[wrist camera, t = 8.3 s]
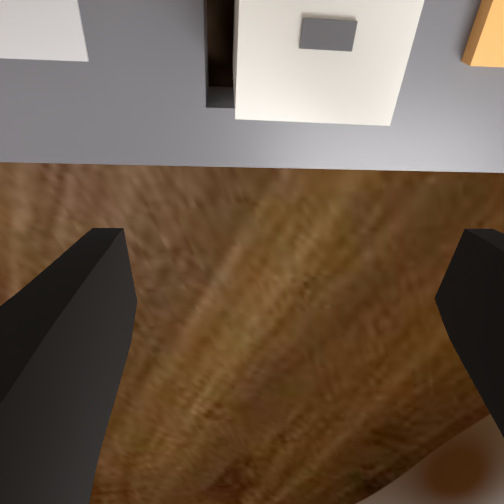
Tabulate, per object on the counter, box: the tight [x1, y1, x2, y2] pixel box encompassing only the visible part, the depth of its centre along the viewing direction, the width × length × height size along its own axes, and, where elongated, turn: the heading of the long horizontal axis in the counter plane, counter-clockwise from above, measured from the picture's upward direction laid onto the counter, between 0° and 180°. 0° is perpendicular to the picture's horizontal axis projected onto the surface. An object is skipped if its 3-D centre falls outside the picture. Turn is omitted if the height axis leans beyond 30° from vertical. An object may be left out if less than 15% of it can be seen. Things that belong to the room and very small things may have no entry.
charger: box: [232, 0, 424, 126], centre depth 11 cm, size 4×4×6 cm
